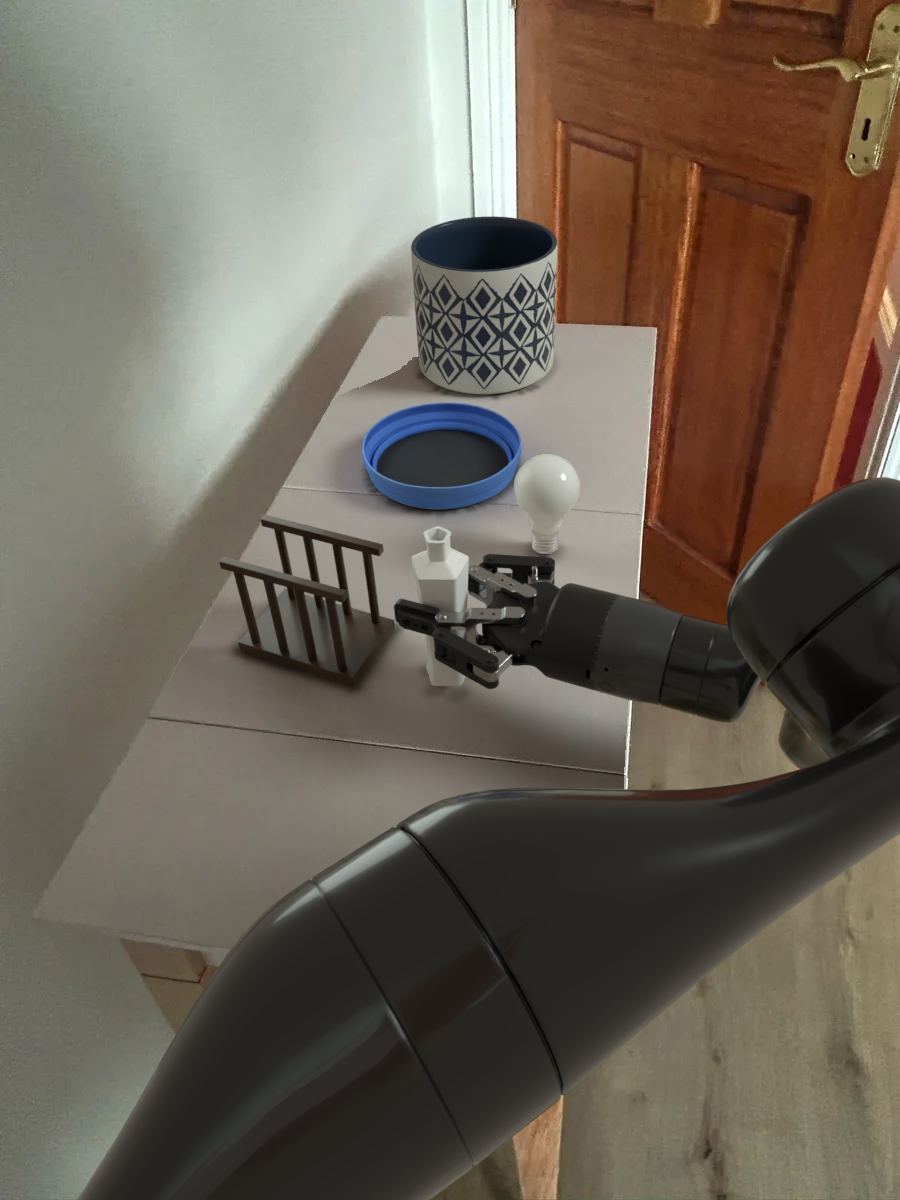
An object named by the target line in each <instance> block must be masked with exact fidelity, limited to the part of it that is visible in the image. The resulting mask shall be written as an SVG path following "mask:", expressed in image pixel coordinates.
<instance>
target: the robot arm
mask: <svg viewBox="0 0 900 1200" xmlns="http://www.w3.org/2000/svg"><path fill="white" fill-rule="evenodd" d="M498 569H509V570H511V572H501V571H499V570H498ZM555 576H556V560H555V559H554V558H553V557H547V556H529V555H514V554H513V555H512V554H500V553H499V554H495V553H488V554H487V553H486V554H485V555H483V557H482V562H480V563H479V564H472V565H471V564H470V565H469V569H468V595H469V596H471V597H472V598H474V599H476V600H478V601H479V602H481V603H484V605H486V607H469V608H467V611H466V612H440V610H439V608H435V607H431V606H428V605H424V604H420V603H419V602H416V601H412V600H408V599H405V598H399V599H398V600H397V601H396V602H395V604H394V605H393V611H394V612H393V613H394V621H396V623H397V624H398V625H399V627H402V629H404V630H409V631H412V632H415V633H419V634H422V635H425V634H426V635H429V636H432V637H433V640H434V648H435V651H434V653H435V659H436V660H438V661H439V662H441V663H443V664H445V665H447V666H448V667H450V668H452V669H454V670H455V671H457V672H459V673H461V674H462V675H464V676H466V677H465V678H467V679H470V680H471V681H474V682H475V683H476V684H478V685H480V686H482V687H484V688H485V689H488V690H494V689H496V688H497V687H498V686H499V685H500V676H501V675H502V674H503V673H504V672H505V671H507V669H508V668H510V667H511V666H513V667H521V666H530V667H533V668H536V669H537V670H538V671H539V672H540V673H541V674H542V675H544V676H545V677H546V678H549V679H552V680H556V681H559V682H563V683H567V684H570V685H573V686H577V687H581V688H584V689H587V690H591V691H595V692H598V693H601V694H605V695H608V696H612V697H615V698H618V699H619V698H620V699H623V700H627V701H632V702H637V703H646V704H652V705H656V706H661V707H664V708H667V709H671V710H674V711H677V712H681V713H684V714H688V715H692V716H696V717H699V718H703V719H706V720H710V721H714V722H717V723H725V724H731V723H734V722H736V721H738V720H739V719H741V717H742V716H743V715H744V713H745V712H746V710H747V708H748V707H749V704H750V703H751V700H752V699H753V697H754V694H755V693H756V691H757V689H758V687H759V685H760V683H761V682H762V684H764V685H766V688H767V689H768V690H769V692H771V694H772V695H773V696H774V697H775V698H776V699H777V700H778V701H779V703H780V704H781V706H782V707H784V708H785V710H784V713H783V717H782V721H781V725H780V728H779V733H778V741H777V742H778V745H779V748H780V750H781V752H782V753H783V756H785V758H786V759H787V760H788V761H789V762H790V763H791V764H792V765H793V766H795V767H796V768H797V769H795V770H792V771H787V772H785V773H781V774H776V775H773V776H769V777H766V778H762V779H758V780H753V781H748V782H741V783H740V782H739V783H735V784H727V785H719V786H711V787H700V788H699V787H698V788H687V789H635V788H634V789H633V788H632V789H631V788H602V787H597V788H596V787H567V786H565V787H564V786H563V787H562V786H561V787H560V786H559V787H558V786H549V787H548V786H547V787H545V786H544V787H510V788H507V787H506V788H496V789H486V790H482V791H475V792H474V791H473V792H468V793H467V792H466V793H463V794H460V795H459V794H458V795H455V796H450V797H447V798H443V799H441V800H437V801H436V802H434V803H431V804H429V805H426V806H425V807H422V808H421V809H419V810H418V811H416V812H414V813H412V814H411V815H409V816H408V817H406V818H405V819H403V820H401V821H399V822H398V824H396V826H392V827H390V828H389V829H386V831H384V832H382V833H380V834H379V835H378V836H375V837H374V838H373V839H371V840H369V841H367V842H366V843H364V844H363V845H361V846H360V847H358V848H357V849H354V851H351V852H350V853H348V854H347V855H345V856H344V857H342V858H341V859H339V860H337V861H336V862H335V863H333V864H331V865H330V866H328V867H326V868H324V869H323V870H322V871H320V872H318V873H317V874H315V875H313V876H312V878H311V879H307V880H306V881H304V882H303V883H301V884H300V885H298V886H297V887H295V888H293V889H292V890H290V891H289V892H288V893H286V894H285V895H283V896H282V897H281V898H279V899H278V900H276V901H275V902H274V903H273V904H271V906H269V907H268V908H267V909H266V910H265V911H263V912H262V913H261V914H260V915H258V917H257V918H256V919H255V920H254V921H253V923H251V925H250V926H248V928H247V929H246V930H245V931H244V932H243V933H242V934H241V936H240V937H239V938H238V940H237V941H236V942H235V944H234V945H233V946H232V947H231V949H230V950H229V951H228V952H227V954H226V955H225V957H224V958H223V960H222V961H221V962H220V964H219V966H218V967H217V968H216V970H215V971H214V973H213V974H212V975H211V977H210V978H209V980H208V982H207V983H206V985H205V987H204V988H203V989H202V991H201V993H200V994H199V996H198V998H197V999H196V1001H195V1002H194V1004H193V1006H192V1007H191V1008H190V1010H189V1012H188V1013H187V1014H186V1017H185V1018H184V1020H183V1021H182V1023H181V1026H179V1028H178V1030H177V1031H176V1034H175V1035H174V1037H173V1038H172V1040H171V1042H170V1044H169V1045H168V1047H167V1049H166V1050H165V1052H164V1054H163V1056H162V1057H161V1059H160V1061H159V1062H158V1064H157V1066H156V1068H155V1070H154V1072H153V1073H152V1075H151V1077H150V1079H149V1080H148V1082H147V1084H146V1085H145V1087H144V1088H143V1091H142V1092H141V1095H140V1096H139V1098H138V1100H137V1101H136V1103H135V1105H134V1107H133V1109H132V1111H131V1112H130V1113H129V1115H128V1118H127V1119H126V1121H125V1122H124V1123H123V1125H122V1127H121V1129H120V1131H119V1132H118V1134H117V1135H116V1138H115V1139H114V1141H113V1143H112V1144H111V1145H110V1147H109V1149H108V1150H107V1152H106V1153H105V1155H104V1156H103V1158H102V1159H101V1161H100V1163H99V1164H98V1166H97V1168H96V1169H95V1171H94V1172H93V1174H92V1176H91V1177H90V1178H89V1180H88V1182H87V1183H86V1184H85V1187H84V1188H83V1190H82V1191H81V1193H80V1194H79V1195H78V1197H77V1198H76V1200H431V1199H433V1198H434V1197H435V1196H437V1195H438V1194H439V1193H441V1192H443V1190H445V1189H446V1188H448V1187H449V1186H450V1185H452V1184H453V1183H454V1182H457V1181H458V1180H459V1179H460V1178H461V1177H463V1176H465V1174H467V1173H468V1172H470V1171H471V1170H472V1169H474V1166H478V1165H479V1164H480V1163H481V1162H483V1161H484V1160H485V1159H487V1158H488V1157H489V1156H490V1155H492V1154H493V1153H494V1152H496V1151H497V1150H499V1148H501V1147H502V1146H503V1145H505V1144H507V1142H508V1141H509V1140H511V1139H513V1137H514V1136H516V1135H517V1134H519V1133H520V1132H521V1131H522V1130H523V1129H525V1128H526V1127H527V1126H529V1125H530V1124H531V1123H533V1122H534V1121H535V1120H536V1119H538V1118H539V1117H540V1116H541V1115H543V1114H544V1113H545V1112H547V1111H548V1110H549V1109H550V1108H551V1107H553V1106H554V1105H555V1104H557V1103H558V1102H559V1101H560V1099H561V1096H566V1095H568V1094H569V1093H570V1092H571V1091H572V1090H573V1089H575V1088H576V1087H577V1086H578V1085H580V1083H581V1082H583V1081H584V1080H585V1079H586V1078H588V1077H589V1076H590V1075H591V1074H592V1073H593V1072H594V1071H595V1070H597V1068H599V1067H600V1066H601V1065H602V1064H603V1063H605V1062H606V1061H607V1060H608V1059H610V1057H611V1056H613V1055H614V1054H615V1053H616V1052H617V1051H619V1050H620V1049H621V1048H622V1047H623V1046H624V1045H625V1044H627V1043H629V1041H630V1040H631V1039H633V1038H634V1037H635V1036H636V1035H637V1034H638V1033H640V1032H641V1031H642V1030H643V1029H645V1028H646V1027H647V1026H648V1025H649V1024H650V1023H652V1022H653V1021H654V1020H655V1019H656V1018H657V1017H659V1016H660V1015H661V1014H662V1013H663V1012H664V1011H666V1010H667V1009H668V1008H670V1007H671V1006H672V1005H673V1004H674V1003H676V1002H677V1001H678V1000H679V999H680V998H681V997H683V996H684V995H685V994H686V993H688V992H689V991H690V990H691V989H692V988H694V987H695V986H696V985H697V984H699V983H700V982H701V981H702V980H703V979H704V978H706V977H707V976H708V975H710V974H711V973H712V972H714V970H715V969H716V968H718V967H719V966H720V965H721V964H723V963H724V962H725V961H727V960H728V959H729V958H730V957H731V956H732V955H734V954H735V953H736V952H737V951H738V950H740V949H741V948H742V947H744V946H745V945H746V944H747V943H748V942H750V941H751V940H752V939H753V938H755V937H756V936H758V935H759V934H760V933H761V932H762V931H764V930H765V929H766V928H768V927H769V926H770V925H772V924H773V923H775V921H777V920H778V919H779V918H781V917H783V916H784V915H785V914H787V913H788V912H789V911H791V910H792V909H793V908H795V907H796V906H798V905H799V904H800V903H802V902H803V901H804V900H806V899H808V898H809V897H810V896H812V895H814V893H816V892H817V891H819V890H820V889H821V888H823V887H825V886H826V885H828V884H829V883H831V882H832V881H833V880H835V879H837V878H839V876H840V875H842V874H844V873H845V872H846V871H848V870H850V869H851V868H852V867H854V866H855V865H858V863H860V862H861V861H863V860H864V859H866V858H868V856H870V855H871V854H873V853H874V852H876V851H878V850H879V849H881V848H882V847H883V846H884V845H887V843H889V842H891V841H892V840H893V839H895V838H896V837H898V836H899V835H900V480H899V479H896V478H893V477H887V476H878V477H867V478H862V479H860V480H859V479H858V480H856V481H852V482H850V483H847V484H844V485H842V486H841V487H839V488H837V489H835V490H833V491H831V492H829V493H826V494H825V495H824V496H822V497H820V498H819V499H817V500H816V501H815V502H812V503H811V504H810V505H808V506H807V507H805V508H804V509H803V510H802V511H801V512H799V513H798V514H796V515H795V516H794V517H793V518H791V519H790V520H788V521H787V522H786V523H785V524H784V525H783V526H781V527H780V528H779V529H778V530H776V532H775V533H774V534H773V535H772V536H771V537H769V538H768V539H767V540H766V541H765V542H764V543H763V544H762V545H761V546H760V547H759V549H757V550H756V552H755V553H754V554H753V555H752V556H751V557H750V559H748V561H747V562H746V564H745V565H744V567H743V568H742V569H741V571H740V572H739V573H738V575H737V577H736V579H735V581H734V583H733V585H732V587H731V589H730V591H729V595H728V597H727V601H726V610H725V612H726V615H725V617H726V622H727V624H726V623H722V622H717V621H713V620H710V619H706V618H703V617H698V616H694V615H691V614H690V615H689V614H686V613H685V614H684V613H682V612H678V611H676V610H673V609H671V608H668V607H665V606H662V605H660V604H658V603H654V602H652V601H646V600H643V599H639V598H635V597H631V596H626V595H623V594H619V593H614V592H611V591H606V590H602V589H597V588H594V587H590V586H586V585H583V584H577V583H573V582H569V583H565V584H564V585H562V586H561V587H558V586H557V585H556V584H555ZM478 625H481V634H480V633H479V632H478ZM452 627H464V628H465V629H466V630H452Z"/></svg>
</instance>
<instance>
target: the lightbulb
mask: <svg viewBox="0 0 900 1200" xmlns="http://www.w3.org/2000/svg"><path fill="white" fill-rule="evenodd" d="M580 493H581V481H580V477H579V474H578V472H577V470H576V468H575V466H574V465H573V464H572V463H571V462H570V461H569V460H568V459H566V458H564V457H563V456H560V455H558V454H553V453H541V454H537V455H534V456H532V457H530V458H528V459H527V460H526V461H524V463H522V465H520V468H519V469H518V470H517V472H516V474H515V476H514V481H513V494H514V498H515V501H516V503H517V505H518V506H519V508H520V509H521V511H523V513H524V514H525V515H526V517H527V519H528V523H529V526H530V528H531V548H532V550H533V551H534V552H536V553H538V554H541V555H550V554H553V553H554V552H556V551H557V550H558V548H559V537H560V536H559V534H560V529H561V528H562V525H563V522H564V519H565V517H566V516H567V515H568V514H569V513H570V512H571V511H572V510H573V508H574V507H575V505H576V503H577V502H578V500H579V496H580Z"/></svg>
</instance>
